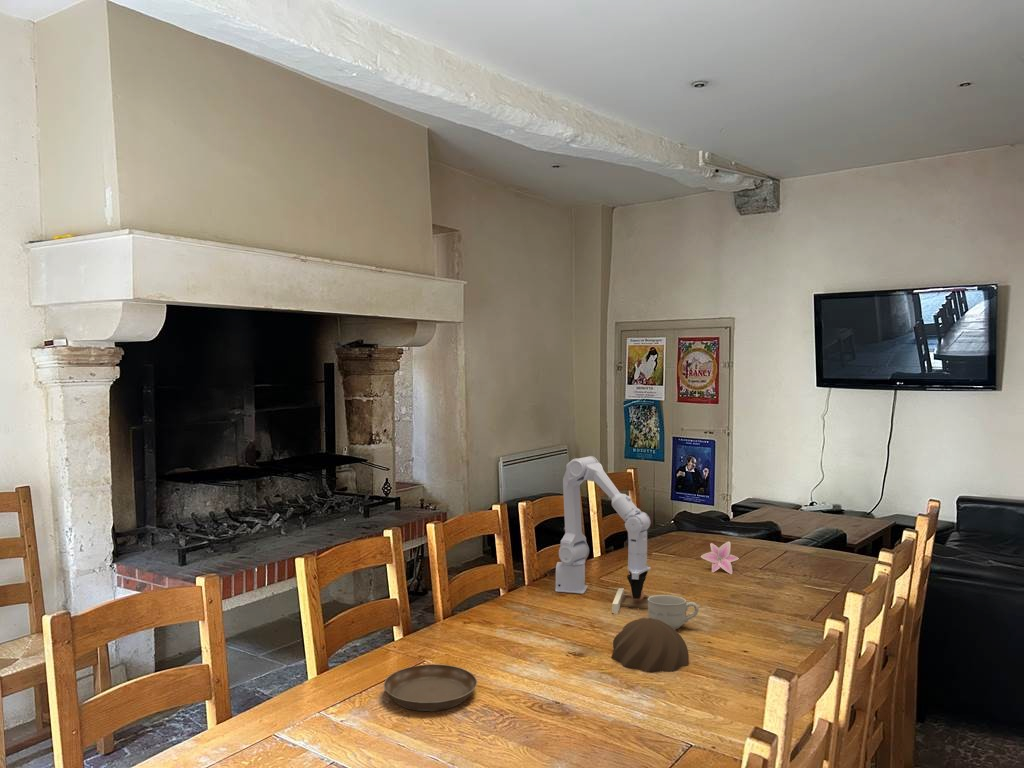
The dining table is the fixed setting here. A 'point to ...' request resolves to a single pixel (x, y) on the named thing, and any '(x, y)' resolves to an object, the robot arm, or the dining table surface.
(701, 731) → the dining table surface
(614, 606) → the strip
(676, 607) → the teacup
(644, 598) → the tray
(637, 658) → the decorative dome
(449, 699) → the plant saucer
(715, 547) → the lily
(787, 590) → the dining table surface
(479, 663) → the dining table surface
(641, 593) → the ball
